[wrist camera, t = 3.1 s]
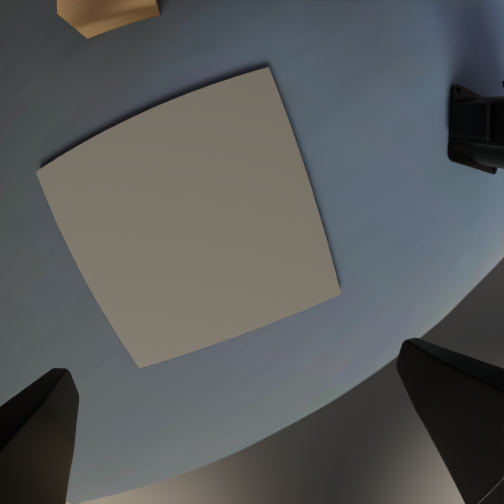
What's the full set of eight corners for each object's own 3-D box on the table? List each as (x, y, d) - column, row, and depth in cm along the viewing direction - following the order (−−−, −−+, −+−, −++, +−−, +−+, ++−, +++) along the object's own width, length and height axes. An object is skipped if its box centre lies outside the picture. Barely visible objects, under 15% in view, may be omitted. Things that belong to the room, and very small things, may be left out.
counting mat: (266, 69, 17) (268, 67, 16) (338, 290, 22) (341, 294, 22) (40, 170, 17) (36, 171, 16) (140, 363, 22) (139, 368, 22)
